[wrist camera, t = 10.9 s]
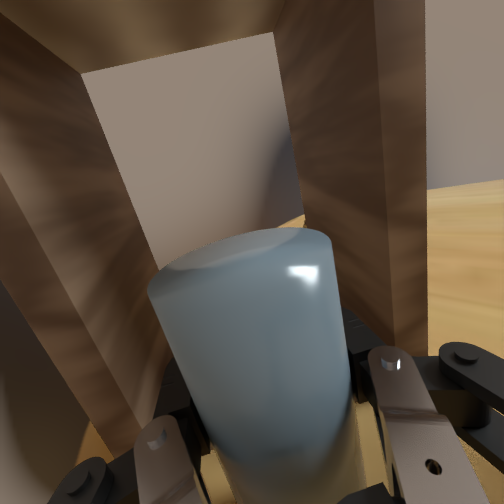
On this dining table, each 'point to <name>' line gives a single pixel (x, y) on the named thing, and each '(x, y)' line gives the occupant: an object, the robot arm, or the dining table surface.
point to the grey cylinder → (266, 363)
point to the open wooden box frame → (120, 206)
